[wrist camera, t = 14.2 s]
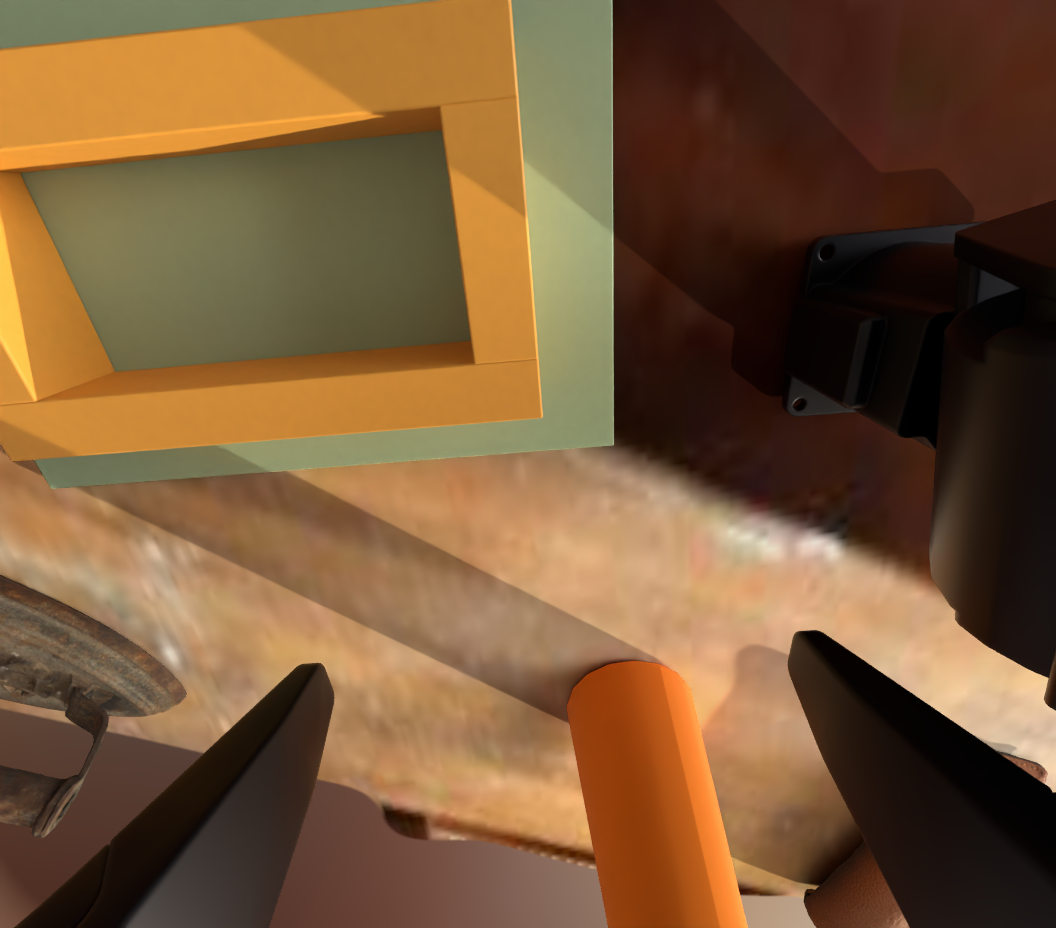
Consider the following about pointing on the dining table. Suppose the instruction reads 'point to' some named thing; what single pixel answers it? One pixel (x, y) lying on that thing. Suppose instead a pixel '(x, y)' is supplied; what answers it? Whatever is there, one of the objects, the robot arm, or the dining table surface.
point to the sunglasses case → (869, 886)
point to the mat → (337, 244)
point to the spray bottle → (651, 801)
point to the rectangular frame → (253, 123)
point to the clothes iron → (68, 690)
